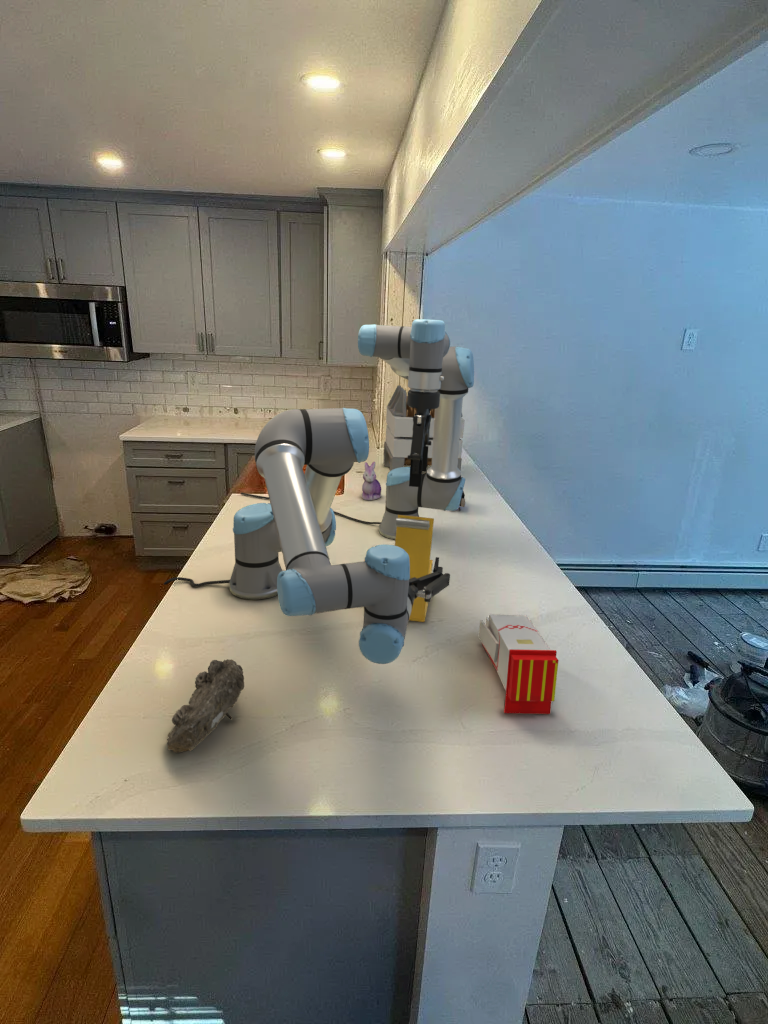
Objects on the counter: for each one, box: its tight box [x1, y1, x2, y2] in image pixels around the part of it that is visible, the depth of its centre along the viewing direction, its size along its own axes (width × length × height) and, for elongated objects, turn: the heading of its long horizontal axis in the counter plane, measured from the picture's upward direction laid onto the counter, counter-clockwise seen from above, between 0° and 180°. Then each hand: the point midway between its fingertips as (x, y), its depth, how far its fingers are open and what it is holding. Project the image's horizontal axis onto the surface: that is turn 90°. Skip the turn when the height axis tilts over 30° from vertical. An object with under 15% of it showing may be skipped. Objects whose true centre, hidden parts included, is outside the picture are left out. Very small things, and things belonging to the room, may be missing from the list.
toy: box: [477, 613, 560, 715], centre depth 124 cm, size 12×13×30 cm
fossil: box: [166, 658, 245, 754], centre depth 106 cm, size 22×10×15 cm
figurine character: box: [457, 490, 466, 511], centre depth 229 cm, size 7×8×15 cm
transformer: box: [383, 384, 465, 472], centre depth 268 cm, size 34×33×41 cm
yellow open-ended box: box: [409, 559, 434, 623], centre depth 150 cm, size 16×9×10 cm, turn 170°
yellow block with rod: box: [394, 515, 435, 579], centre depth 137 cm, size 16×9×9 cm
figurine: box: [361, 461, 382, 501], centre depth 234 cm, size 9×10×15 cm
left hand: (407, 559), depth 129 cm, fingers open, 13 cm apart
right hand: (418, 478), depth 138 cm, fingers open, 13 cm apart
